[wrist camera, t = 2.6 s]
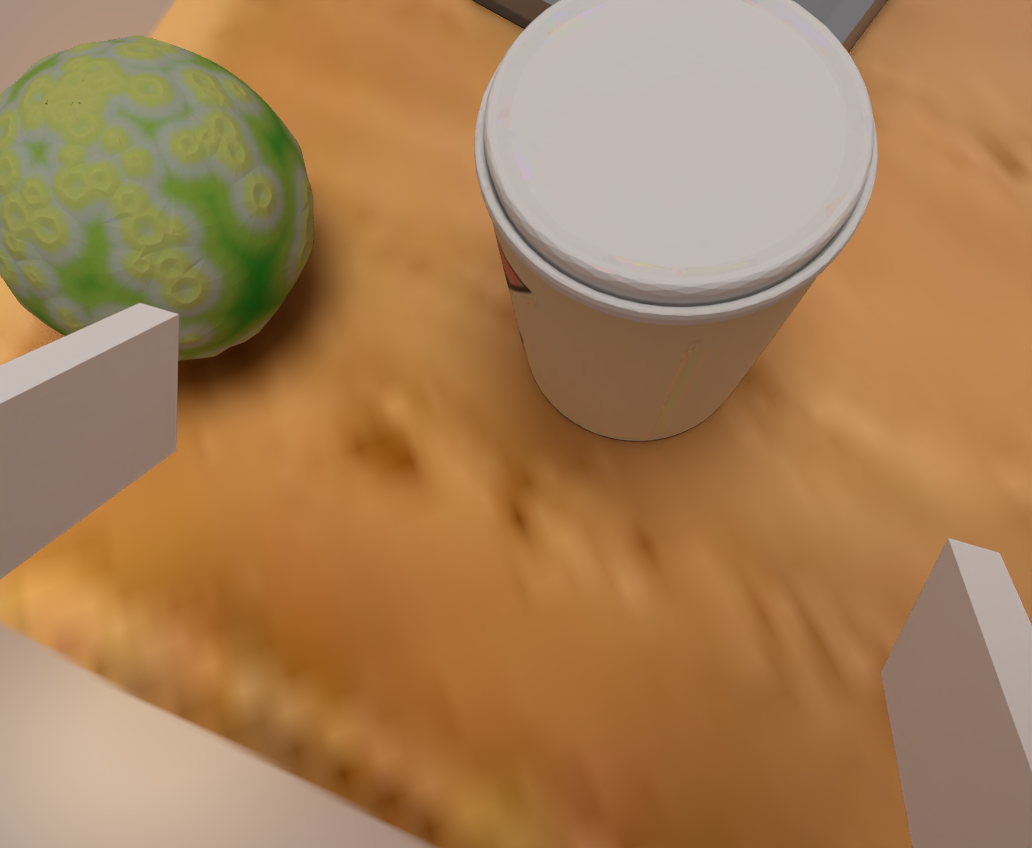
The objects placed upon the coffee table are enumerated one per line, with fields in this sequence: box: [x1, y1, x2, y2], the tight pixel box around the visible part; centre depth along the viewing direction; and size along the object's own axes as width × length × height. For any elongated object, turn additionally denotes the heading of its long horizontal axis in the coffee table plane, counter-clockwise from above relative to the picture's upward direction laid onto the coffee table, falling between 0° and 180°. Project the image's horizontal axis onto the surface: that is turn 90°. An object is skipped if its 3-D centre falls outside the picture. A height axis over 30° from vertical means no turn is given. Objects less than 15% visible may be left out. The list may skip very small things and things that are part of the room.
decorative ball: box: [0, 36, 314, 361], centre depth 28 cm, size 10×10×10 cm
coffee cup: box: [475, 0, 878, 441], centre depth 26 cm, size 9×9×12 cm
